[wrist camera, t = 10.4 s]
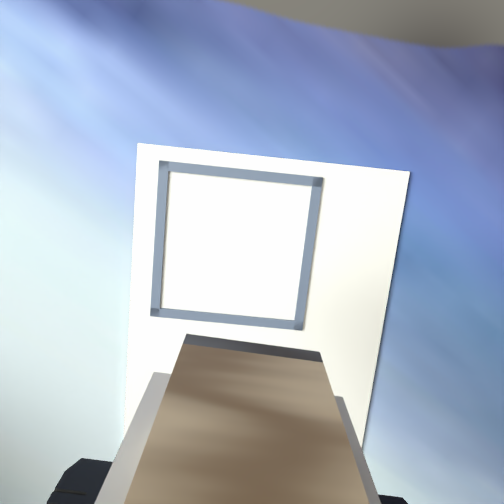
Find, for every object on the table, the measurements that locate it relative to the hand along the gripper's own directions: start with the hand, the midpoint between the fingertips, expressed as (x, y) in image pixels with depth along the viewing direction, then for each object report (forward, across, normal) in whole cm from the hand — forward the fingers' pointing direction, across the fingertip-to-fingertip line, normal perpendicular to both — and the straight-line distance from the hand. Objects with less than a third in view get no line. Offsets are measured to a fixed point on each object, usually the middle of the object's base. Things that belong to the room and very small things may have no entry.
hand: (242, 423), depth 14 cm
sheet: (+16, +1, -5) cm, 17 cm away
